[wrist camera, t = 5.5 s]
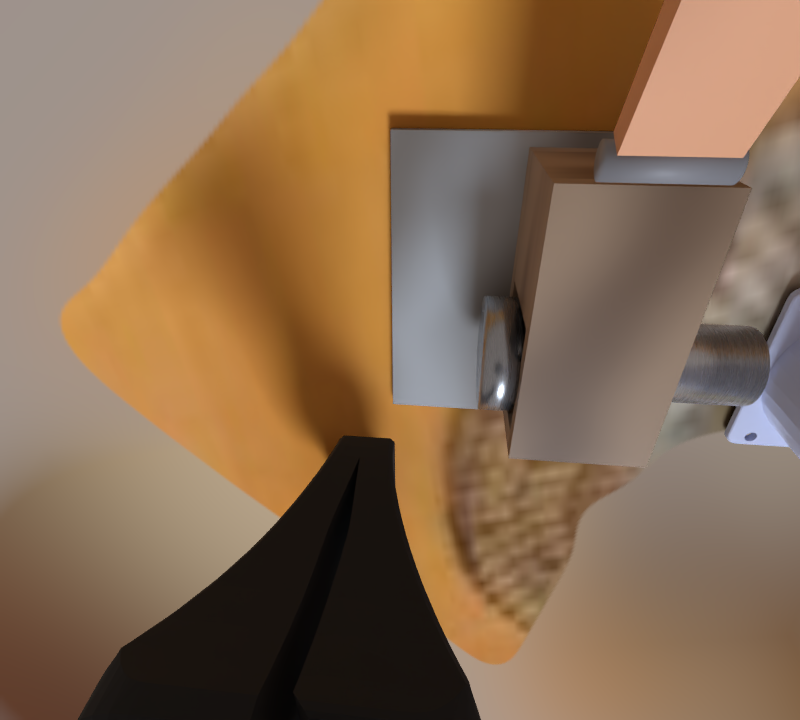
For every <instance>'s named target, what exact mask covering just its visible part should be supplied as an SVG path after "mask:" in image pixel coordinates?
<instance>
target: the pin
mask: <svg viewBox="0 0 800 720" xmlns="http://www.w3.org/2000/svg"><path fill="white" fill-rule="evenodd" d="M525 335H526V326H525V322H524V318H523V316H522V314H521V306H520V301H519V299H518V297H506V296H484V298H483V301H482V307H481V314H480V322H479V332H478V346H477V365H476V399H477V407H478V409H485V410H501V411H511V410H512V409H513V407H514V404H515V400H516V396H517V391H518V385H519V378H520V369H521V360H522V353H523V347H524V341H525ZM769 372H770V354H769V349H768V345H767V342H766V340H765V338H764V336H763V335H762V334H761V332H760V331H759V330H757V329H756V328H754V327H751V326H738V325H716V324H701V325H700V327H699V330H698V333H697V335H696V338H695V341H694V343H693V346H692V348H691V351H690V354H689V356H688V359H687V362H686V364H685V367H684V370H683V372H682V375H681V378H680V380H679V383H678V386H677V388H676V391H675V394H674V396H673V399H672V402H676V403H693V404H710V405H727V406H748V405H751V404H753V403H754V402H755V401H757V400H758V398H759V397H760V396H761V395H762V393H763V391H764V389H765V387H766V385H767V381H768V378H769Z"/></svg>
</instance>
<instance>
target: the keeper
mask: <svg viewBox="0 0 800 720" xmlns="http://www.w3.org/2000/svg"><path fill="white" fill-rule="evenodd" d="M799 77H800V0H664V3H663V5H662V8H661V10H660V13H659V16H658V18H657V21H656V23H655V26H654V28H653V31H652V34H651V36H650V39H649V41H648V44H647V47H646V49H645V52H644V54H643V57H642V59H641V62H640V65H639V67H638V70H637V72H636V75H635V78H634V80H633V83H632V85H631V88H630V91H629V93H628V96H627V98H626V101H625V103H624V106H623V109H622V111H621V114H620V116H619V119H618V122H617V124H616V127H615V129H614V132H613V133H614V139H602V140H601V141H600V143H599V146H598V148H597V152H596V156H595V161H594V180H595V182H606V183H649V184H692V185H735V184H736V183H737V182H738V181H739V180H740V179H741V178H742V176H743V174H744V172H745V170H746V168H747V165H748V160H749V149H750V147H751V146H752V144H753V143H754V142H755V140H756V139H757V137H758V136H759V134H760V133H761V132H762V130H763V129H764V127H765V126H766V124H767V123H768V121H769V120H770V119H771V117H772V116H773V114H774V113H775V111H776V110H777V108H778V107H779V106H780V104H781V103H782V101H783V100H784V98H785V97H786V95H787V94H788V93H789V91H790V90H791V88H792V87H793V85H794V84H795V82H796V81H797V80H798V78H799Z"/></svg>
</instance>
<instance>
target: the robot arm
mask: <svg viewBox="0 0 800 720" xmlns="http://www.w3.org/2000/svg"><path fill="white" fill-rule="evenodd" d="M767 345H768V349H769V354H770V372H769V378H768V381H767V385H766V387H765V389H764V391H763V393H762V395H761V396H760V397H759V398H758V400H757V401H755V402H754V403H753V404H751V405H748V406H736V409H735V411H734V413H733V415H732V417H731V419H730V421H729V423H728V426H727V428H726V430H725V436H726V437H727V439H728V440H729V441H730V442H731V443H736V444H752V445H753V444H754V445H767V446H768V445H769V446H783V447H784V446H785V447H790V448H791V449H792V451H793V452H794V453H795V454H796V455H797V457H798V458H799V459H800V288H799V289H797V290H795V291H794V292H792V293H791V294H790V295H789V297H788V298H787V300H786V302H785V304H784V307H783V309H782V311H781V313H780V315H779V317H778V319H777V321H776V324H775V326H774V328H773V330H772V332H771V334H770V336H769V338H768V341H767ZM748 433H751V434H749V435H746V434H748ZM78 720H481V719H480V716H479V712H478V710H477V706H476V703H475V700H474V697H473V694H472V691H471V688H470V684H469V681H468V679H467V677H466V675H465V673H464V672H463V670H462V668H461V666H460V664H459V662H458V660H457V658H456V656H455V655H454V653H453V651H452V649H451V647H450V645H449V643H448V641H447V638H446V636H445V634H444V632H443V630H442V628H441V626H440V624H439V622H438V619H437V617H436V615H435V612H434V610H433V608H432V605H431V603H430V601H429V598H428V596H427V594H426V591H425V589H424V586H423V584H422V581H421V578H420V576H419V573H418V570H417V568H416V565H415V562H414V559H413V556H412V553H411V550H410V547H409V543H408V540H407V536H406V533H405V529H404V525H403V522H402V518H401V513H400V509H399V504H398V499H397V494H396V488H395V443H394V441H392V440H391V439H389V438H373V437H358V436H343V437H342V438H340V440H339V442H338V443H337V445H336V446H335V448H334V450H333V451H332V453H331V454H330V456H329V457H328V459H327V460H326V461H325V463H324V464H323V466H322V467H321V468H320V470H319V471H318V473H317V474H316V475H315V477H314V478H313V479H312V481H311V482H310V483H309V484H308V486H307V487H306V488H305V490H304V491H303V492H302V493H301V495H300V496H299V497H298V498H297V500H296V501H295V502H294V503H293V504H292V505H291V507H290V508H289V509H288V510H287V511H286V512H285V513H284V515H283V516H282V517H281V518H280V519H279V520H278V522H277V523H276V524H275V525H274V526H273V527H272V528H271V529H270V530H269V531H268V532H267V533H266V534H265V535H264V536H263V537H262V538H261V539H260V540H259V541H258V542H257V543H256V544H255V545H254V546H253V547H252V548H251V549H250V550H249V551H248V552H247V553H246V554H245V555H244V556H242V557H241V558H240V559H239V560H238V561H237V562H236V563H235V564H234V565H233V566H232V567H230V568H229V569H228V570H227V571H226V572H225V573H223V574H222V575H221V576H220V577H219V578H218V579H217V580H215V581H214V582H213V583H212V584H210V585H209V586H208V587H206V588H205V589H204V590H203V591H201V592H200V593H199V594H197V595H196V596H195V597H193V598H192V599H191V600H190V601H188V602H187V603H186V604H184V605H183V606H182V607H181V608H180V609H178V610H177V611H175V612H174V613H172V614H171V615H170V616H168V617H167V618H165V619H164V620H163V621H161V622H159V623H158V624H156V625H155V626H153V627H152V628H150V629H149V630H148V631H146V632H145V633H143V634H142V635H140V636H139V637H137V638H136V639H134V640H133V641H131V642H130V643H128V644H127V645H125V646H123V647H122V648H121V649H120V651H119V653H118V654H117V656H116V657H115V658H114V660H113V661H112V662H111V664H110V665H109V667H108V668H107V670H106V671H105V673H104V674H103V676H102V677H101V679H100V681H99V683H98V684H97V686H96V688H95V690H94V691H93V693H92V695H91V697H90V699H89V701H88V702H87V704H86V706H85V707H84V709H83V711H82V713H81V715H80V716H79V718H78Z"/></svg>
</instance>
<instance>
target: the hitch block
mask: <svg viewBox="0 0 800 720" xmlns="http://www.w3.org/2000/svg"><path fill="white" fill-rule="evenodd" d="M613 132H614V131H559V130H493V129H426V128H391V235H392V343H393V404H403V405H419V406H435V407H452V408H468V409H478V407H477V399H476V365H477V346H478V332H479V322H480V314H481V307H482V301H483V298H484V296H506V297H518V299H519V301H520V306H521V314H522V316H523V318H524V322H525V326H526V335H525V341H524V347H523V353H522V360H521V369H520V378H519V385H518V391H517V396H516V400H515V404H514V407H513V409H512V410H511V411H503V414H504V422H505V431H506V439H507V447H508V455H509V458H514V459H528V460H543V461H557V462H571V463H586V464H600V465H615V466H629V467H643V468H647V465H648V463H649V460H650V457H651V455H652V452H653V449H654V447H655V444H656V441H657V439H658V436H659V433H660V431H661V428H662V425H663V423H664V420H665V417H666V415H667V412H668V409H669V407H670V404H671V402H672V399H673V396H674V394H675V391H676V388H677V386H678V383H679V380H680V378H681V375H682V372H683V370H684V367H685V364H686V362H687V359H688V356H689V354H690V351H691V348H692V346H693V343H694V341H695V338H696V335H697V333H698V330H699V327H700V325H701V322H702V319H703V317H704V314H705V311H706V309H707V306H708V303H709V301H710V298H711V295H712V293H713V290H714V287H715V285H716V282H717V280H718V277H719V274H720V272H721V269H722V266H723V264H724V261H725V258H726V256H727V253H728V250H729V248H730V245H731V242H732V240H733V237H734V234H735V232H736V229H737V226H738V224H739V221H740V219H741V216H742V213H743V211H744V208H745V205H746V203H747V200H748V197H749V195H750V192H751V189H752V188H751V187H749V186H747V185H745V184H743V183H741V182H739V181H738V182H737V183H736V184H735V185H692V184H649V183H606V182H595V180H594V161H595V156H596V152H597V148H598V146H599V143H600V141H601V140H602V139H614V133H613ZM484 410H485V409H484ZM500 411H501V410H500Z"/></svg>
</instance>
